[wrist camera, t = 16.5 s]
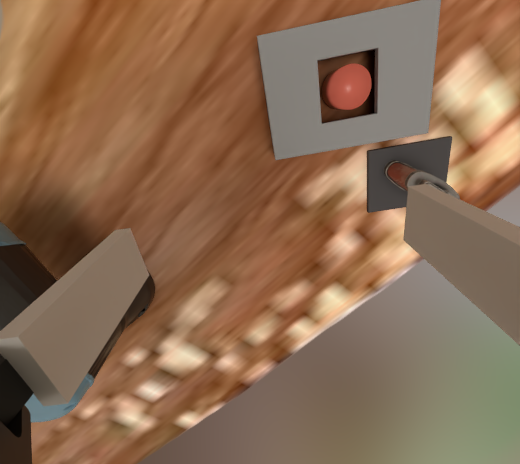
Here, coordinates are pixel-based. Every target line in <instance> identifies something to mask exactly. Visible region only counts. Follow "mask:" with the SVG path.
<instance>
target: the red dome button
mask: <svg viewBox="0 0 520 464" xmlns="http://www.w3.org/2000/svg"><path fill="white" fill-rule="evenodd" d="M370 90H371V76H370V74H369V72H368V70H367V69H366V68H365V67H364V66H362V65H360V64H348V65H346V66H343V67H341V68H339V69H337V70H335V71H333V72H331V73H330V74H329V75H328V76H327V77H326V79H325V81H324V83H323V86H322V97H323V100H324V102H325V103H326V104H327V105H328V106H329V107H331V108H333V109H343V110H351V109H355V108H357V107H359V106H360V105H362V104H363V103H364V102H365V100H366V99H367V97H368V96H369V93H370Z"/></svg>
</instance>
